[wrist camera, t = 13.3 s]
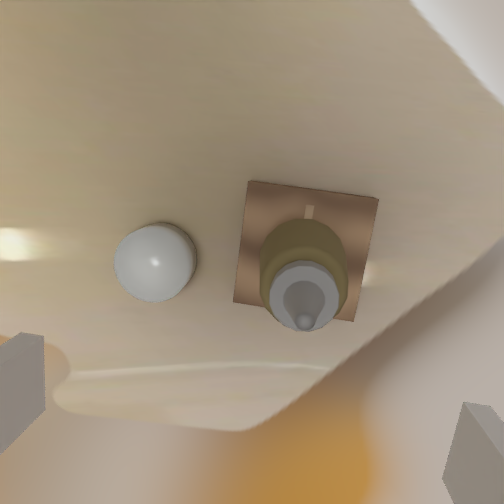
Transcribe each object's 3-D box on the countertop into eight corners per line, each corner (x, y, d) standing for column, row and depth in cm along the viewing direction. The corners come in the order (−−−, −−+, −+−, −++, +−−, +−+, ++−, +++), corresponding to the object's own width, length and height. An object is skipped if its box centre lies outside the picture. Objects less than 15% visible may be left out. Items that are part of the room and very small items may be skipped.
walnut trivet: (251, 180, 40) (248, 181, 38) (373, 197, 39) (379, 199, 37) (236, 294, 43) (232, 302, 41) (350, 313, 42) (353, 322, 40)
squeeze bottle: (292, 197, 38) (288, 222, 20) (358, 244, 38) (410, 308, 20) (247, 260, 40) (207, 333, 22) (309, 304, 40) (319, 410, 22)
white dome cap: (120, 231, 43) (103, 238, 39) (186, 215, 42) (176, 220, 38) (140, 296, 45) (127, 308, 41) (205, 282, 44) (197, 294, 40)
